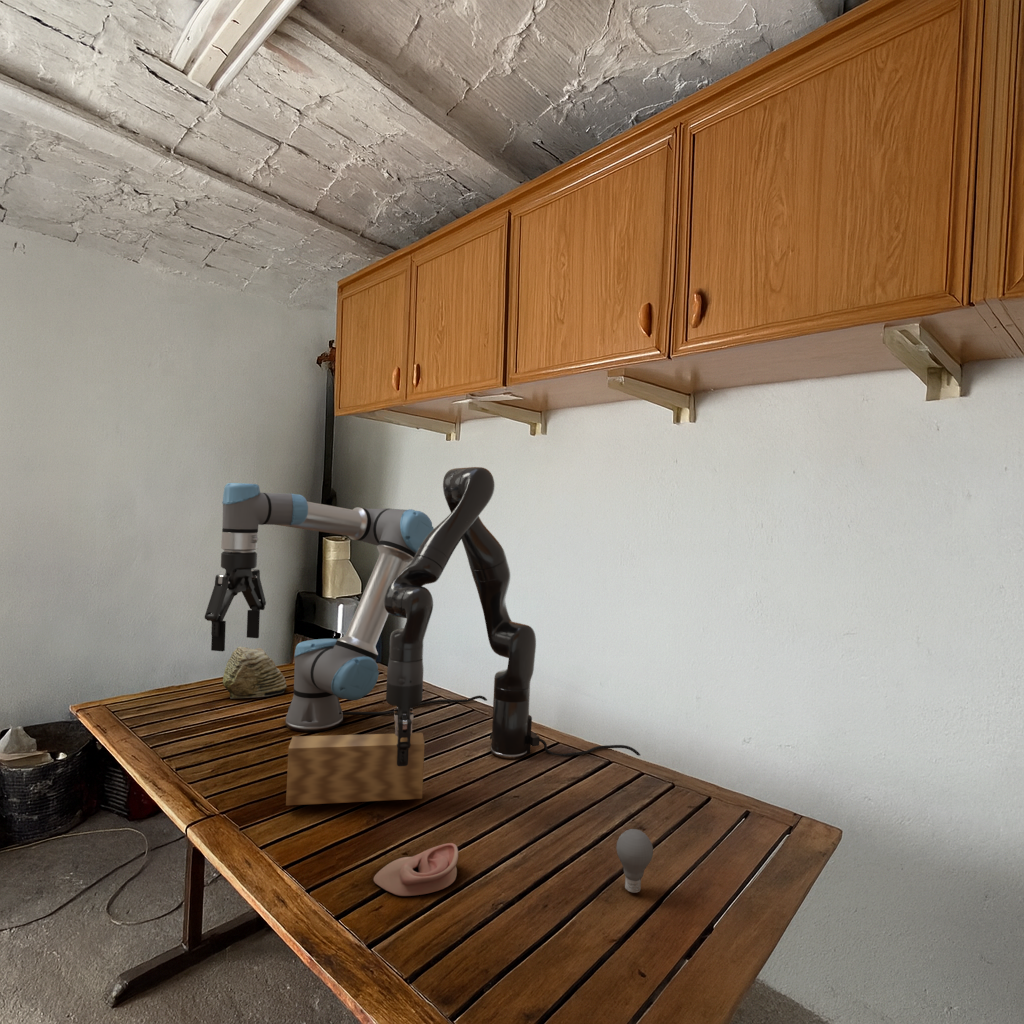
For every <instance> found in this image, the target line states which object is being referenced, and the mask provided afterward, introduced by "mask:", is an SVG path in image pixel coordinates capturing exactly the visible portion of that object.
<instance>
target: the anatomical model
mask: <svg viewBox="0 0 1024 1024" xmlns="http://www.w3.org/2000/svg"><path fill="white" fill-rule="evenodd" d="M458 861H459V848H458V846H457V845H456V844H455V843H452V842H448V843H443V844H439V845H437V846H433V847H430V848H428V849H425V850H423V851H422V852H420V853H417V854H415V855H412V856H404V857H399V858H397V859H395V860H393V861H390V862H389V863H388V864H386V865H385V866H383V867H382V868H381V869H380V870H379V871H377V872H376V874H375V875H374V876H373V882H374V883H375V885H377V886H378V887H379V888H381V889H383V890H384V891H386V892H388V893H390V894H393V895H395V896H399V897H411V896H419V895H420V896H422V895H426V894H431V893H435V892H439V891H441V890H444V889H446V888H448V887H449V886H451V885H452V884H453V883H454V882H455V881H456V879H457V874H458V869H457V864H458Z"/></svg>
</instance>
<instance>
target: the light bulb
mask: <svg viewBox="0 0 1024 1024" xmlns="http://www.w3.org/2000/svg"><path fill="white" fill-rule="evenodd" d="M615 849H616V854H617V857H618V859H619V861H620V863H621V865H622V867H623V873H624V874H623V875H624V876H625V878H624V888H625V890H627V891H628V892H630V893H634V894H635V893H639V892H640V891H641V889H642V887H641V886H642V879H643V877H644V875H645V871H646V868H647V867H648V866H649V864H650V863H651V861H652V859H653V855H654V847H653V843H652V841H651V838H649V836H648V835H647V834H646V833H645V832H643V831H642V830H641V829H636V828H629V829H627V830H625V831H623V832H622V833H621V834H620V835H619V837H618V839H617V841H616V847H615Z"/></svg>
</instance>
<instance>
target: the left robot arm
mask: <svg viewBox="0 0 1024 1024" xmlns="http://www.w3.org/2000/svg"><path fill="white" fill-rule="evenodd" d="M223 488H224V489H223V496H222V503H221V504H222V530H221V531H222V532H221V541H220V542H221V544H220V549H221V550H223V551H222V552H221V553H220V568H222V569H224V570H225V572H224V574H215V579H214V580H215V581H214V586H213V589H212V593H211V595H210V598H209V601H208V604H207V608H206V611H205V614H204V620H206V621H208V622H211V630H210V631H211V633H210V634H211V645H210V651H212V652H225V651H226V625H227V621H226V620H224V619H225V616H226V614H227V612H228V611H229V608H230V606H231V604H232V602H233V600H234V598H235V597H236V596H238V594H239V593H242V595H243V597H244V600H245V601H246V603H247V606H248V607H249V609H247V617H246V638H247V639H248V638H249V639H259V638H260V620H261V619H260V617H261V611H264V610H265V609H266V605H267V600H266V596H265V594H264V590H263V585H262V581H261V570H260V569H258V568H257V566H258V553H257V552H256V551H255V550H257V549H258V541H259V537H258V532H259V525H260V526H264V525H267V526H269V525H271V526H273V525H274V526H280V527H287V528H293V529H299V530H300V529H301V530H308V531H315V532H319V533H328V534H334V535H340V536H341V535H343V536H347V537H348V538H349V539H350V540H353V541H359V542H363V543H367V544H370V545H373V546H376V549H377V551H378V554H379V555H378V557H377V560H376V562H375V564H374V567H373V569H372V572H371V574H370V576H369V578H368V581H367V583H366V585H365V588H364V590H363V592H362V595H361V597H360V600H359V602H358V604H357V607H356V609H355V612H354V614H353V616H352V619H351V621H350V622H349V625H348V628H347V630H346V632H345V635H343V636H341V637H340V638H318V639H308V640H304V641H300V642H299V643H297V644H296V646H295V650H294V655H293V657H294V672H293V673H294V674H293V695H292V696H293V697H292V699H291V702H290V704H289V706H288V711H287V713H286V715H285V726H286V728H287V729H289V730H291V731H294V732H295V731H296V732H301V733H316V732H325V731H329V730H332V729H335V728H337V727H339V726H340V725H342V723H343V722H344V716H382V715H383V716H385V715H394V710H389V711H388V710H386V711H343V709H342V706H341V702H340V699H341V700H347V701H358V700H360V699H362V698H364V697H366V696H368V694H370V693H371V692H372V690H373V689H374V688H375V687H376V684H377V682H378V680H379V676H380V675H379V674H380V671H379V666H378V663H377V662H376V661H377V659H378V656H379V652H378V651H377V647H376V646H377V643H378V641H379V638H380V636H381V633H382V631H383V629H384V626H385V624H386V621H387V620H388V617H389V615H390V614H389V613H388V612H387V611H386V609H385V607H384V597H385V593H386V591H387V589H388V587H389V586H390V584H391V583H392V582H393V581H394V580H395V579H396V577H397V576H398V575H399V574H400V573H401V572H402V571H403V570H404V569H405V568H406V567H407V566H408V565H409V564H410V563H411V562H412V560H413V558H414V556H415V554H416V553H417V551H418V549H419V547H420V545H421V544H422V542H423V541H424V539H425V538H426V537H427V535H428V534H429V533H430V532H431V531H432V530H433V529H434V528H435V527H434V526H433V522H432V519H431V518H430V516H428V515H427V514H426V513H424V512H423V511H421V510H415V509H413V508H411V509H410V508H409V509H401V508H399V509H398V508H367V507H359V506H357V507H354V508H353V509H350V508H345V507H339V506H335V505H330V504H323V503H318V502H312V501H307V499H306V497H305V496H304V495H302V494H299V493H283V492H281V493H279V492H262V491H261V490H260V485H259V484H257V483H243V482H228V483H226V484H225V486H224V487H223ZM256 568H257V569H256ZM467 699H468V700H467ZM477 699H480V700H483V701H484V702H485V701H488V699H487V698H486V697H485V696H484V695H476V696H472V697H469V698H464V699H444V698H443V699H433V700H427V701H421V703H419V704H418V705H413V706H411V707H410V709H413V708H417V707H421V706H425V705H429V704H436V703H437V704H439V703H468V702H471V701H474V700H477Z"/></svg>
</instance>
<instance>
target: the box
mask: <svg viewBox="0 0 1024 1024" xmlns="http://www.w3.org/2000/svg"><path fill="white" fill-rule="evenodd" d="M400 742H407V738H401V740H400ZM410 744H411V746H410V748H409V750H408V765H407V766H398V765H397V749H398V748H397V736H395V733H369V734H367V733H366V734H336V735H335V734H334V735H332V734H331V735H330V734H329V735H299V736H296V735H295V736H292V737H291V739H290V743H289V745H288V750H287V771H286V772H287V773H286V797H285V806H303V805H304V806H305V805H322V804H323V805H324V804H325V805H326V804H344V803H346V804H347V803H361V802H362V803H363V802H384V801H402V800H422V799H423V787H424V765H425V764H424V763H425V745H426V743H425V739H424V733H423V732H412V734H411V736H410Z"/></svg>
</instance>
